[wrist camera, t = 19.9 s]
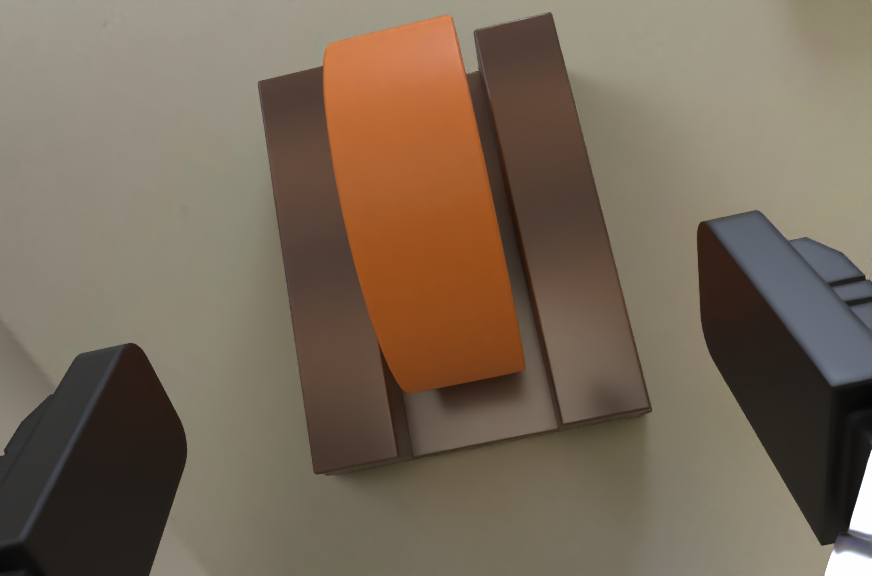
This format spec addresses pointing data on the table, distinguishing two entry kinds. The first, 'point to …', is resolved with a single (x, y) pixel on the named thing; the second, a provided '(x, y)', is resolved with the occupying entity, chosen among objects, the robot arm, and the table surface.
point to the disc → (420, 206)
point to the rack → (525, 258)
